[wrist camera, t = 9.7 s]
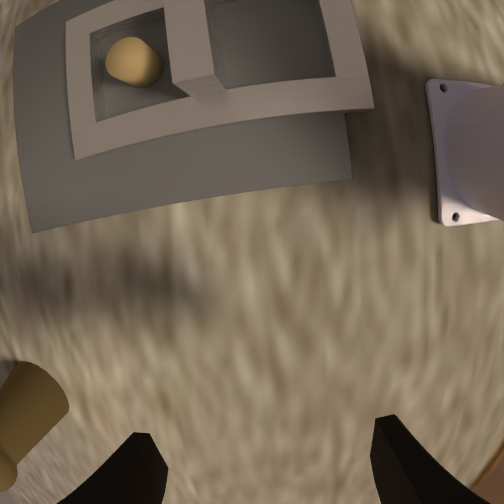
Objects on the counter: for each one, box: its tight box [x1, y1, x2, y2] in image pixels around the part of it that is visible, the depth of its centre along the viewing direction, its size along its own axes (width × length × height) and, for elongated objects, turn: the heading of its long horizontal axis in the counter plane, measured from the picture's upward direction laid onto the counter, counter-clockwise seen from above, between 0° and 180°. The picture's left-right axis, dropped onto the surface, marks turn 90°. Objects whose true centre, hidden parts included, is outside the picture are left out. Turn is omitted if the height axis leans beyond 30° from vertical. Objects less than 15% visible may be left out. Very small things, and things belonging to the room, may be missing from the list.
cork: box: [0, 362, 69, 492], centre depth 16 cm, size 6×6×11 cm
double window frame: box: [66, 0, 374, 160], centre depth 11 cm, size 14×8×4 cm, turn 98°
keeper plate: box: [13, 0, 353, 233], centre depth 13 cm, size 18×14×3 cm
